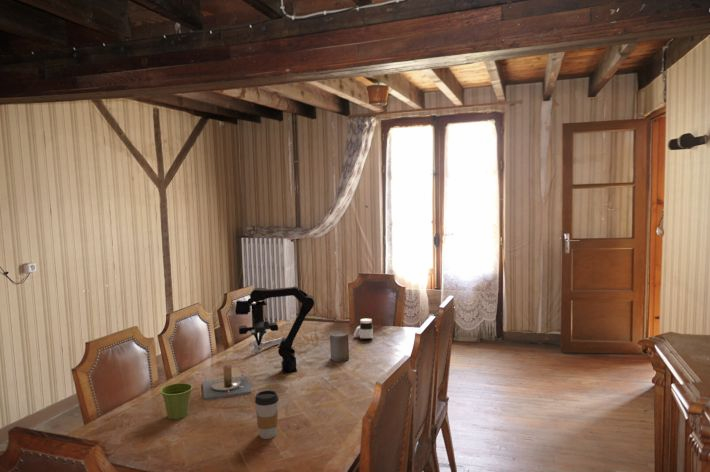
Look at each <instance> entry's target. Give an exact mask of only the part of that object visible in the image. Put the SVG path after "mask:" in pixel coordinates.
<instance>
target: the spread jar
mask: <svg viewBox="0 0 710 472" xmlns="http://www.w3.org/2000/svg"><path fill="white" fill-rule="evenodd" d="M359 322H360V324H359V325H358V326H357V327H356V328H355V330H354V333H353V337H355V338H358V337H359V338H360V341H361V340H362V341H364V342H365V341H372V340H373V338H374V336H373V335H374V331H373V330H374V329H373V328H374V326H373V319H372V318H360V321H359Z"/></svg>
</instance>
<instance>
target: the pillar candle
mask: <svg viewBox="0 0 710 472" xmlns="http://www.w3.org/2000/svg"><path fill="white" fill-rule="evenodd" d="M329 341H330V343H329V346H330V360H331V361H333V362H336V363H337V362H338V363H339V362H340V363H342V362H346V361H348V360H350V353H349V352H350V350H349V348H350V346H349V345H350V343H349V332H348V331H345V330H338V331H337V330H336V331H332V332H330V333H329Z"/></svg>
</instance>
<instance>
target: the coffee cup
mask: <svg viewBox="0 0 710 472" xmlns="http://www.w3.org/2000/svg"><path fill="white" fill-rule="evenodd" d="M254 403H255V409H256V410H255V413H256V421H257V430H258V435H259V437H260V438H261V439H265V440H267V439H272V438H274V437H276V435H277V432H278V418H279V417H278V415H279V408H278V407H279V405H278V404H279V395H278V394H277V392H276V391H274V390H261V391H259V392H257V393H256V395H255V397H254Z"/></svg>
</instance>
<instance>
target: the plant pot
mask: <svg viewBox="0 0 710 472" xmlns="http://www.w3.org/2000/svg"><path fill="white" fill-rule="evenodd" d="M193 388H194V387H193V385H192V384H191V383H187V382H175V383H170V384H168V385H165V386H163V387H161V389H160V393H161V394H162V398H163V400H164V404H165V410H166V414H167V418H168V419H170V420H181V419H184V418H185V417H186V416H188V411H189V403H190V396H191V392H192V389H193Z"/></svg>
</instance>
